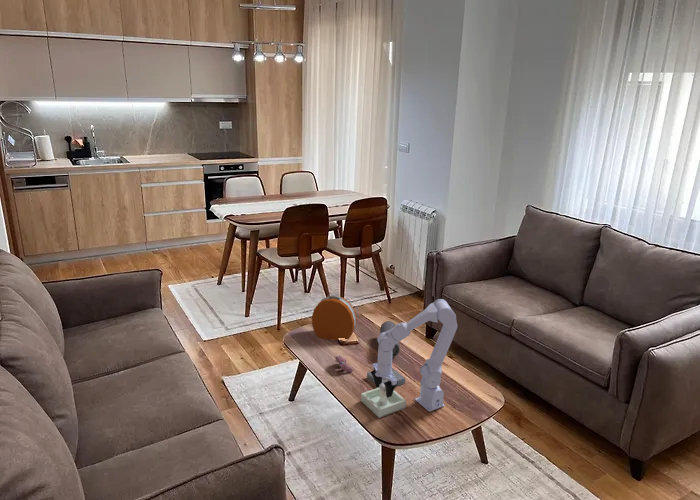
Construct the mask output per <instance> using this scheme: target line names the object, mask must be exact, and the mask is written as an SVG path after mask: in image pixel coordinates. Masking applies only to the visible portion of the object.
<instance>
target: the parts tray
mask: <svg viewBox="0 0 700 500" xmlns="http://www.w3.org/2000/svg"><path fill="white" fill-rule="evenodd" d="M379 396H380V388H376V387H375V388H373V389H370V390H367V391H365V392H361V396H360V401H361V402H362V403H363V405H365V406H366V407H367V408H368V409H369V410H370V411H371V412H372V413H373V414H374V415H375V416H376V417H377V418H379V419H380V418H382V417H385V416H388V415H390V414H393V413H395V412H398V411H399V412H400V411H401V410H405V409H406V408H407V406H406V405H407V400H406V399H405V398H404V397H402V395H400V393H398V392H397V391H396V390H394V391H393V393H392V396H391V397H388V398H387V400H388V404H387V405H380V404H379Z"/></svg>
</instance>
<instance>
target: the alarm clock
mask: <svg viewBox="0 0 700 500" xmlns="http://www.w3.org/2000/svg"><path fill="white" fill-rule="evenodd" d="M357 317H358V316H357V314H356V311H355V308H354V306H353V305H352V303H351V302H350V301H348V300H347V299H346V298H345V297H342V296H339V295H335V294H330V295H327V296H325V297H324V298H322V299H321V300H320V301H319V302H318V303H317V305H316V306H315V308H314V309H313V312H312V315H311V326H312V329H313V331H314V333H315V334H316V335H315V336H317V337H318V338H319V339H324V340H329V341H330V340H331V341H337V340H338V338H345V339H348V340H350V338H351V336H352V335H353V334H354V332H355V330H356V328H357V324H358V321H357Z"/></svg>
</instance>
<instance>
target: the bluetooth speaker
mask: <svg viewBox="0 0 700 500" xmlns="http://www.w3.org/2000/svg"><path fill="white" fill-rule="evenodd" d="M395 326H396V324H395V322H393V321H391V320H386V321H383V323H382V324H381V326H380V329H379V334H381V333H382V332H386V331H387V330H388V331H389V330H390V329H392V328H394V327H395ZM400 347H401V346H400V341H399V342H398V343H396V344H395V346H394V348H393V349H392V358H396V357H397V356H398V355H399V353H400V350H401V348H400Z"/></svg>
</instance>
